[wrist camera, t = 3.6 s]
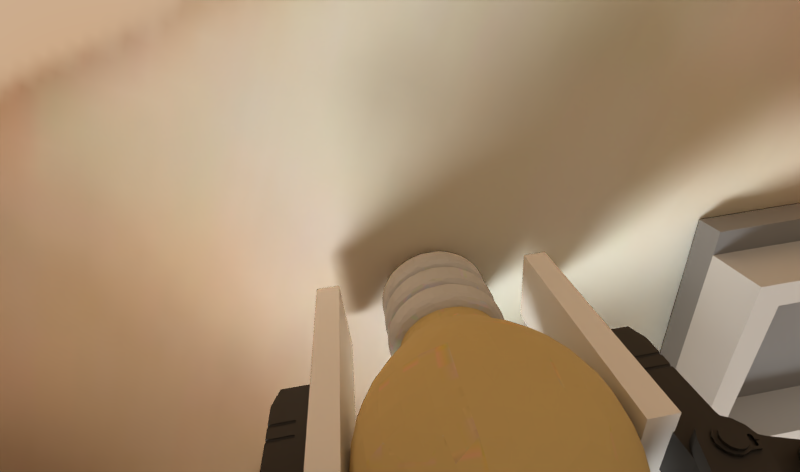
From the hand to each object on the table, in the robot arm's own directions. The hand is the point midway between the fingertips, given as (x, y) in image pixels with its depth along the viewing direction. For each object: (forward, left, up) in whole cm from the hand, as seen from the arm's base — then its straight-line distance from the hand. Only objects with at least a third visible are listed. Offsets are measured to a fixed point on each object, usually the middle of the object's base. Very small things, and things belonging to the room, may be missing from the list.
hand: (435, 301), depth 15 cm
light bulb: (0, 0, -1) cm, 1 cm away
